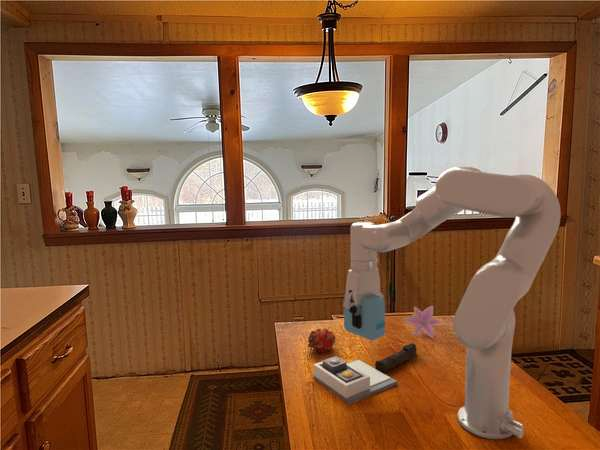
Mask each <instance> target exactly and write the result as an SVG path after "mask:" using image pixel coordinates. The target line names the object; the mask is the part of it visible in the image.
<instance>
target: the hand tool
mask: <svg viewBox="0 0 600 450" xmlns="http://www.w3.org/2000/svg"><path fill="white" fill-rule="evenodd" d="M416 356H417V345H416V344H415V343H412V342H411V343H408V344H406V345H404V346H402V349H401V350H398V351H397V352H395V353H392V354H391V355H389V356H387V357H385V358H383V359H381V360H376V361H375V363H374V364H375V367H374V368H375V369H376V370H378V371H380V372H382V373H384V374H385V375H386V373H388V372H389V370H391V369H393V368H395V367H397V366H399V365H400V364H402V363H404V362H406V361H408V362H410V361H412V360H413V359H414V358H415V357H416Z"/></svg>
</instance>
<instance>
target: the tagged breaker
mask: <svg viewBox="0 0 600 450" xmlns="http://www.w3.org/2000/svg"><path fill="white" fill-rule="evenodd" d="M335 376H336V377H338V378H339V379H341V380H342V381H344V382H345V383H348V382H351V381H354V380H356V379H359V378H360V375H358V374H357V373H355V372H354V371H352V370H350V369H346V370H344V371H341V372H338V373H335Z"/></svg>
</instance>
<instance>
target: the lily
mask: <svg viewBox="0 0 600 450" xmlns="http://www.w3.org/2000/svg"><path fill="white" fill-rule="evenodd" d="M413 311H414V312H413V313H414V315H411V316H408V317H405V318H404V319H403V321H404V322H406V323H408V324H409V325H412V326H414V330H413V335H414V337H415V336H417V335H419V334H421V333H422V332H423V333H425V334H426V335H427V336H428V337H430V338H431V339H434V338H435V332H434V326H437V325H440V324H442V321H440V320H438V319H436V318H433V316H434V305H429V306H427V307H426V308H425V309H424V310H423V311H422V310H421V309H419V307H417V306H413Z"/></svg>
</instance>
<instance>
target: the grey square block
mask: <svg viewBox="0 0 600 450" xmlns="http://www.w3.org/2000/svg"><path fill="white" fill-rule="evenodd" d="M322 361H323V368H324V369H326V370H327V371H329V372H330V373H332V374H333V375H335V373H338V372H341V371H344V370H346V369H347V363H348V362H347V361H345V360H343V359H341V358H340V357H339V356H337V355H335V356H331V357H329V358H326V359H323V360H322Z"/></svg>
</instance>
